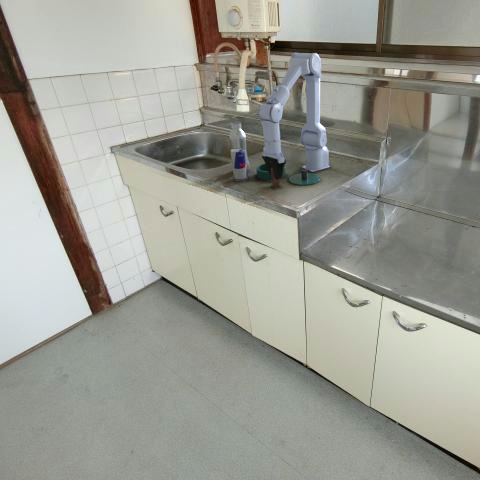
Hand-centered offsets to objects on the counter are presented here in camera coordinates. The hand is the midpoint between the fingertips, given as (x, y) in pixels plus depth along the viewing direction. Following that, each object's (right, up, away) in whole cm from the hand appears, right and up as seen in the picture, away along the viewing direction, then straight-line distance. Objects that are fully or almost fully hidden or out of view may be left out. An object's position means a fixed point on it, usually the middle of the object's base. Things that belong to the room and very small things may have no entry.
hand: (275, 176), depth 133 cm
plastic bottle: (-16, +5, +18) cm, 24 cm away
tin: (-3, +2, +12) cm, 13 cm away
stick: (0, -4, +2) cm, 4 cm away
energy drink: (-15, 0, +10) cm, 18 cm away
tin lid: (+11, 0, +7) cm, 13 cm away
